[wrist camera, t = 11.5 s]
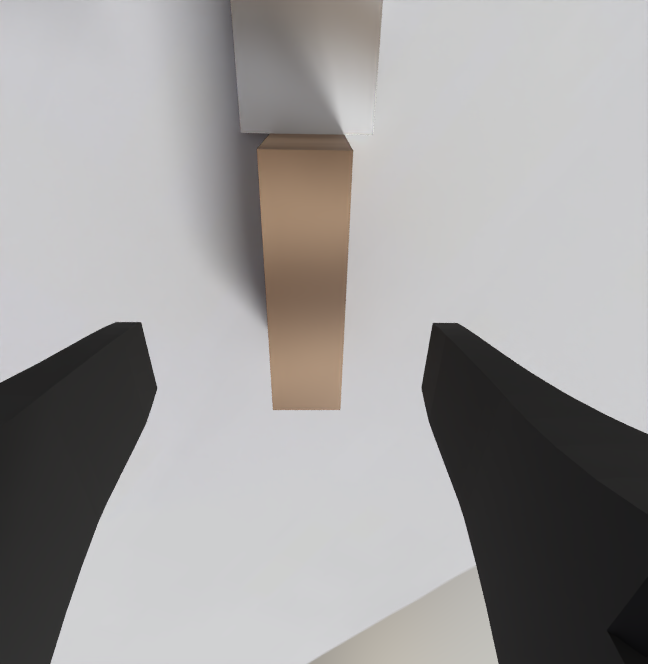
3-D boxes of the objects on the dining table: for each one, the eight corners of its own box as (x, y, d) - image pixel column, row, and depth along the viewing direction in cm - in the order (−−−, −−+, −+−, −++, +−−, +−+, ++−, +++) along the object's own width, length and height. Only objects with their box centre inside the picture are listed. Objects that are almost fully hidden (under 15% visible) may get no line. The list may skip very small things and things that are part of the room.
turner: (356, 344, 22) (366, 409, 17) (259, 344, 21) (246, 410, 17) (387, -119, 13) (424, -218, 8) (224, -123, 13) (179, -227, 8)
